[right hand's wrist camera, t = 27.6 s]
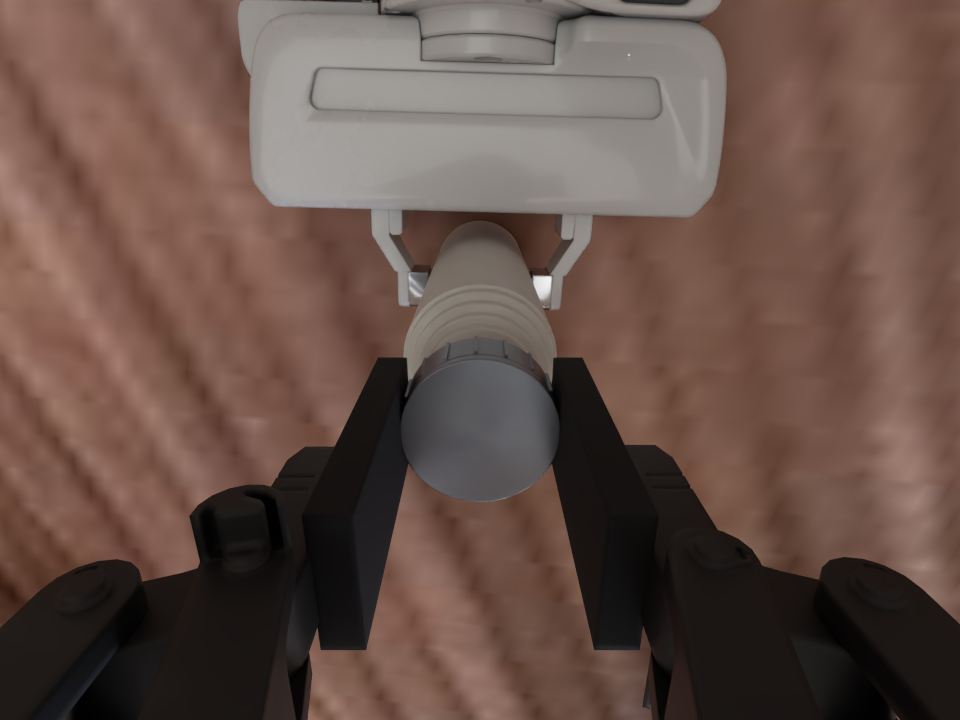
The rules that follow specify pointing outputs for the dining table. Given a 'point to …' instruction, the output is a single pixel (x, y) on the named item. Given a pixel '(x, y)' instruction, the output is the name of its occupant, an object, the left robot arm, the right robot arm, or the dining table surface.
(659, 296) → the dining table surface
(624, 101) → the left robot arm
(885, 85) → the dining table surface
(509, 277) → the bottle
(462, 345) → the cap
